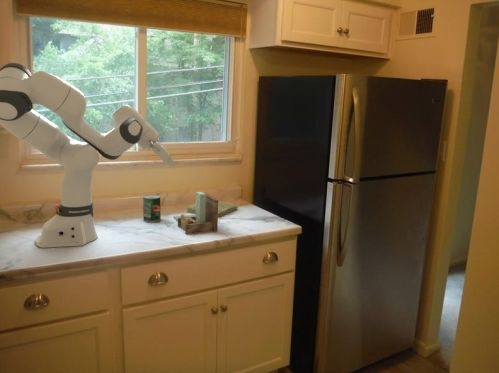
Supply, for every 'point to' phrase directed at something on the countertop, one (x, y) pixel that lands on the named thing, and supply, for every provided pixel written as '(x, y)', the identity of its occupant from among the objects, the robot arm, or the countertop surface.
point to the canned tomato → (151, 208)
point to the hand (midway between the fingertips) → (172, 162)
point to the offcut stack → (186, 221)
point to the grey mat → (180, 216)
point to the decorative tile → (222, 208)
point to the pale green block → (200, 207)
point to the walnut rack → (210, 218)
